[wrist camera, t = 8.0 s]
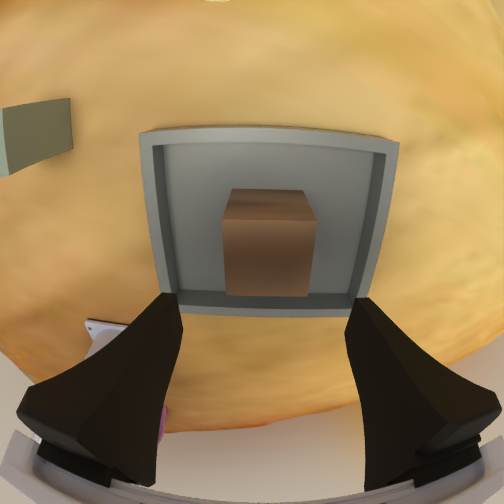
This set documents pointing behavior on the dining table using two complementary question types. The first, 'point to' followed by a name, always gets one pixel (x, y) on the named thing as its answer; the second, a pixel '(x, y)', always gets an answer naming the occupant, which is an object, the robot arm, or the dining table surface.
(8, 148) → the tall block
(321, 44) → the dining table surface
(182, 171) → the tray
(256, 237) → the short block
